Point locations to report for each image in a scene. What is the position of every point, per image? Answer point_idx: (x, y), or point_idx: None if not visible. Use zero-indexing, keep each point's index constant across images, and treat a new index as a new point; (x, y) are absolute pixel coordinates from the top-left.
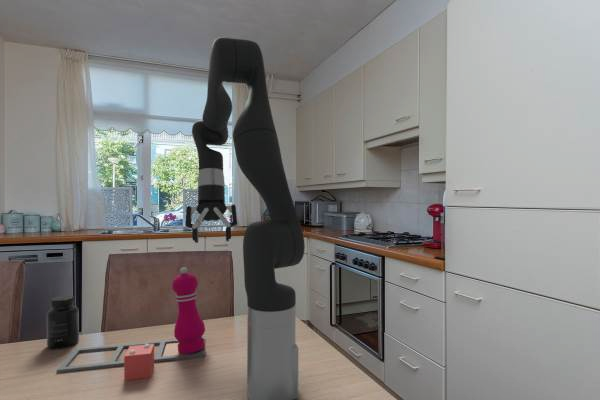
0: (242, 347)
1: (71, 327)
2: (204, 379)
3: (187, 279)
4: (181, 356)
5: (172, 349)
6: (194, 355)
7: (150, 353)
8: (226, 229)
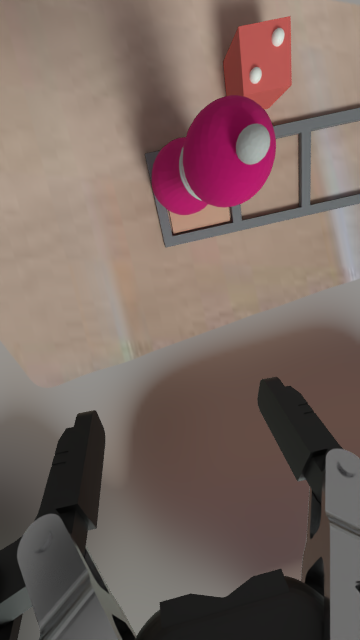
0: (79, 198)
1: None
2: (117, 36)
3: (219, 102)
4: None
5: None
6: None
7: (238, 28)
8: (74, 488)
